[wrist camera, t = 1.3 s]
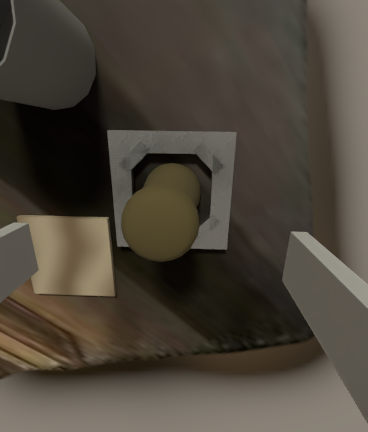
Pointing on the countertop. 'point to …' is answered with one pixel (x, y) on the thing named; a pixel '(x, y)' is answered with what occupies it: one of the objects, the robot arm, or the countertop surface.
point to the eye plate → (177, 144)
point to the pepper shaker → (163, 214)
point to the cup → (44, 54)
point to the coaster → (72, 255)
